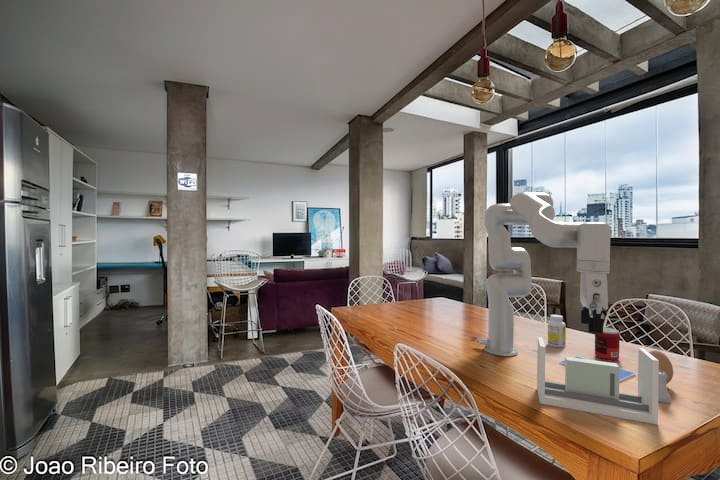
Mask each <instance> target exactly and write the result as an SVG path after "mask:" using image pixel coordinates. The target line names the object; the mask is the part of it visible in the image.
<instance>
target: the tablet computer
mask: <svg viewBox="0 0 720 480" xmlns="http://www.w3.org/2000/svg"><path fill="white" fill-rule="evenodd" d="M573 358H580V359H584V358H582V357H580V356H575V357H573ZM559 365H562V366H565V359H564V360H561V361H559ZM634 377H636V373H635V372H632V371H630V370H625V369H622V368H619V383H623V382H625V381H628V380H630V379H631V378H632V379H633V378H634Z"/></svg>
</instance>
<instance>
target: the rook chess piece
mask: <svg viewBox="0 0 720 480" xmlns="http://www.w3.org/2000/svg"><path fill="white" fill-rule="evenodd" d="M667 378H668V376H667V373H665V372H663V371H662V373H661V371H659V378H658V403H663V404H669V403H670V402H671V401H672V400H671V395H670V394H669V392H668V389H667V384H666V383H667V381H666V379H667Z"/></svg>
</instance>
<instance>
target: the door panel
mask: <svg viewBox="0 0 720 480" xmlns="http://www.w3.org/2000/svg"><path fill="white" fill-rule="evenodd" d="M580 358H581V357H580ZM580 358H574V357H572V356H565V359H564V360H565V365H564V368H565V369H564V373H565V374H564V384H565V391H568V392H574V393H580V394H586V395H592V396H598V397H605V398H611V399H617V400H619V393H620V382H619V369H620V366H619V365H618V363H617V362H616V363H615V362H611V361H604V360H602V361H601V360H595V359H593V360H592V359H587V358H583V359H580Z"/></svg>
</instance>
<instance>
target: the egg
mask: <svg viewBox="0 0 720 480" xmlns="http://www.w3.org/2000/svg"><path fill="white" fill-rule="evenodd" d="M648 352H649V353H650V354H651V355H652V356H654V357H655V358H656V359H657V360H659V371H661V373H662V371H663V372H665V373H667V376H668V378H667V379H666V381H667V383H666V385H668V384H669V383H671V381H672V380H673V377H674V369H673V364H672V361H670V359H669V357H668V356H667V355H666V354H665V353H663V352H662V351H660V350H651V351H648Z"/></svg>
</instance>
